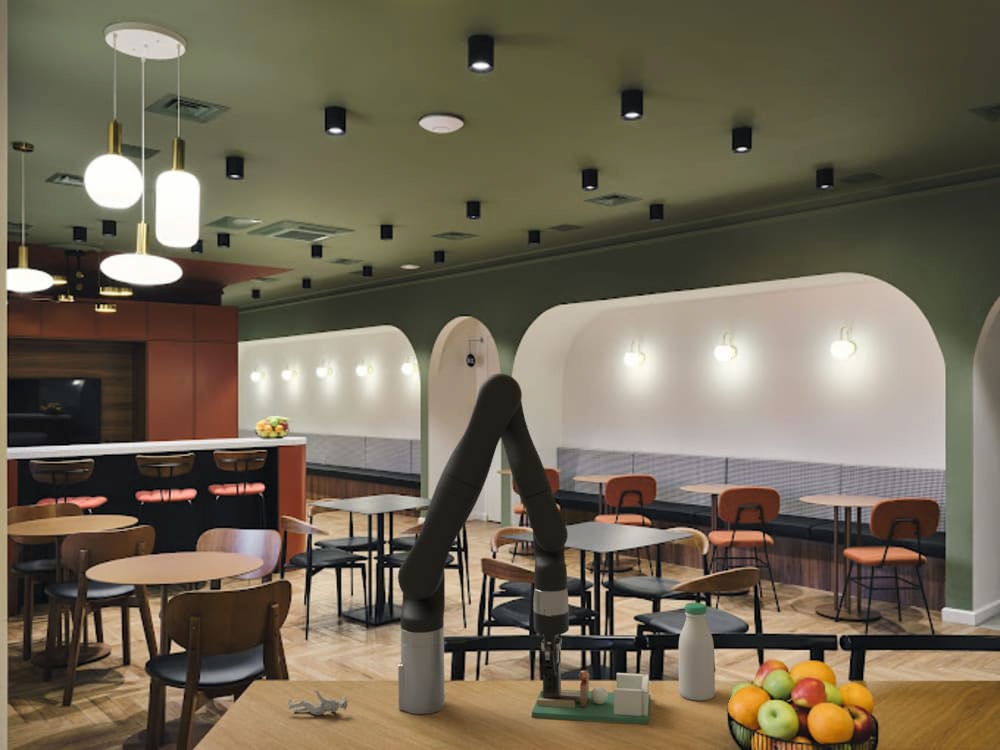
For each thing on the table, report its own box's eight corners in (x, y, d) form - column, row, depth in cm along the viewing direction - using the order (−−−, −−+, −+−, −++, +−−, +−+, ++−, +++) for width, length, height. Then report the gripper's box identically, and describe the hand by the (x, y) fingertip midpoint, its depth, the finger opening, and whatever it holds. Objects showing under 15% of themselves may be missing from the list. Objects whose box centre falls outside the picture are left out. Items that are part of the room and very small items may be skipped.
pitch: (531, 717, 181) (531, 706, 181) (541, 692, 195) (541, 683, 195) (648, 724, 177) (648, 713, 177) (650, 699, 191) (650, 689, 191)
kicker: (542, 704, 185) (541, 666, 185) (546, 694, 191) (545, 657, 191) (588, 706, 183) (588, 668, 183) (591, 696, 189) (590, 659, 189)
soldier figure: (299, 711, 189) (352, 693, 189) (300, 732, 186) (354, 714, 185) (284, 695, 184) (338, 677, 184) (285, 717, 180) (340, 699, 180)
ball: (590, 706, 184) (590, 689, 184) (591, 700, 188) (591, 683, 188) (607, 707, 184) (607, 690, 184) (608, 701, 187) (608, 684, 187)
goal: (614, 714, 180) (613, 689, 180) (617, 695, 190) (616, 672, 190) (647, 716, 179) (647, 691, 179) (648, 697, 189) (648, 674, 189)
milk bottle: (715, 702, 188) (714, 610, 188) (679, 700, 190) (677, 608, 190) (714, 690, 196) (712, 600, 196) (679, 688, 197) (677, 599, 197)
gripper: (538, 599, 195) (539, 676, 195) (528, 617, 181) (529, 699, 181) (572, 601, 194) (573, 678, 194) (564, 618, 180) (565, 702, 180)
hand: (552, 688), depth 188 cm, fingers closed on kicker, 3 cm apart
